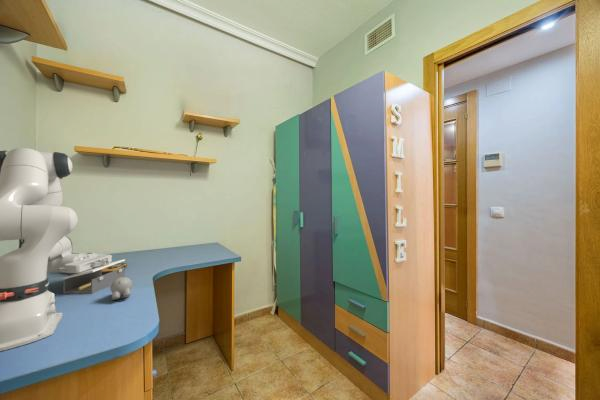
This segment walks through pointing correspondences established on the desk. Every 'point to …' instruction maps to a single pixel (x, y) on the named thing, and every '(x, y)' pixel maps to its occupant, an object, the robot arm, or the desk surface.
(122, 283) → the grey toy animal
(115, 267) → the electronic device
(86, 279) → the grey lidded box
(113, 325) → the desk surface
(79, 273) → the cover
